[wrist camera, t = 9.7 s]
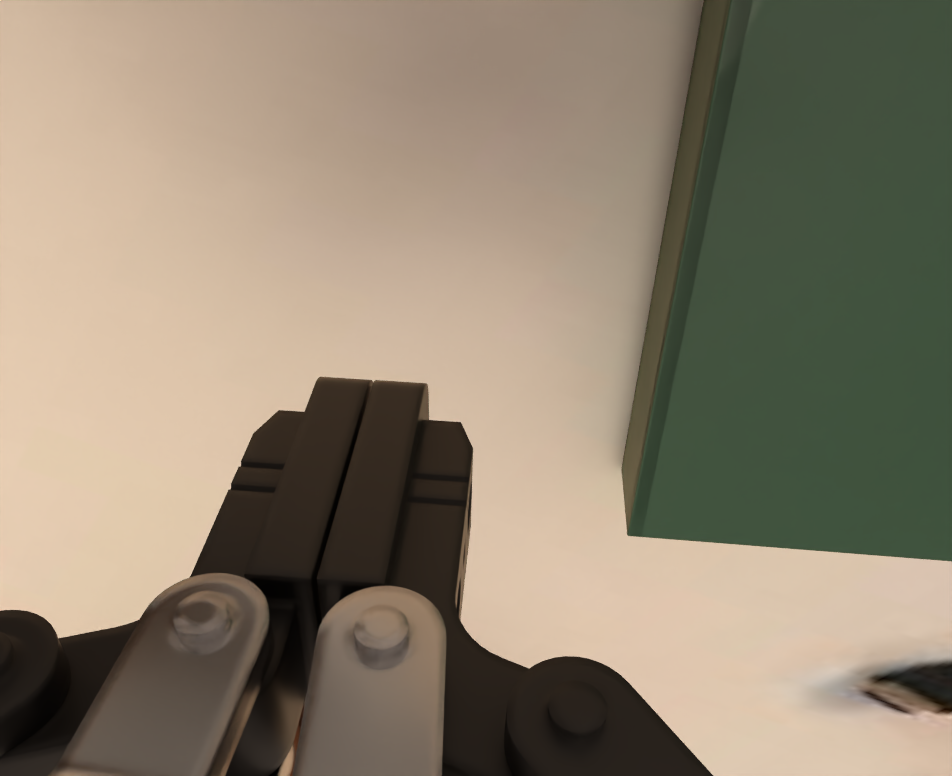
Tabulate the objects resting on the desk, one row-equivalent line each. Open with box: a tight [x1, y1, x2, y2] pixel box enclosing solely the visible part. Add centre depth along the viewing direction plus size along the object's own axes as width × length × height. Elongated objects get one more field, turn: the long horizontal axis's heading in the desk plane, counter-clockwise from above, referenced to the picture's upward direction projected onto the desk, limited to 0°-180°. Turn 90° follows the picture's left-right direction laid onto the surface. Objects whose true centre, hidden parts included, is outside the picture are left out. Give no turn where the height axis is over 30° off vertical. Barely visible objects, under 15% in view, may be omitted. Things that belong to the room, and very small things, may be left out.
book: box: [622, 0, 952, 561], centre depth 18 cm, size 15×11×2 cm
